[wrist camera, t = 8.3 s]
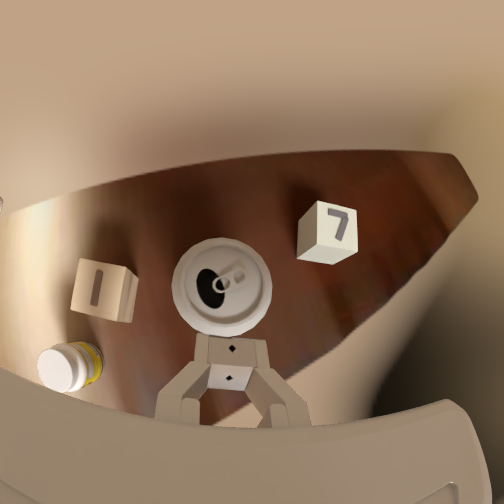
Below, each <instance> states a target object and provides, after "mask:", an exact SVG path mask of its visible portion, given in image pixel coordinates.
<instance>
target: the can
mask: <svg viewBox="0 0 504 504" xmlns="http://www.w3.org/2000/svg"><path fill="white" fill-rule="evenodd" d="M172 293H173V299H174V303H175V305H176V307H177V309H178V311H179V313H180V315H181V317H182V318H183V319H184V320H185V321H186V322H187V323H189V324H190V325H191V326H192V327H193V328H194V329H196V330H198V331H200V332H202V333H204V334H211V335H217V336H224V337H230V336H235V335H240V334H242V333H244V332H246V331H247V330H249V329H251V328H253V327H254V326H255V325H256V324H257V323H258V322H259V321H260V320H261V319H262V317H263V316H264V315H265V313H266V311H267V309H268V306H269V304H270V302H271V294H272V282H271V277H270V273H269V270H268V268H267V266H266V264H265V263H264V261H263V259H262V257H261V256H260V255H259V254H257V253H256V252H255V251H254V250H253V249H252V248H251V247H250V246H248V245H246V244H244V243H242V242H240V241H238V240H234V239H228V238H214V239H207V240H205V241H202V242H200V243H198V244H196V245H194V246H192V247H191V248H190V249H189V250H188V251H187V252H186V253H185V254H184V255H183V256H182V257H181V259H180V261H179V262H178V264H177V266H176V268H175V270H174V274H173V280H172Z"/></svg>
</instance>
